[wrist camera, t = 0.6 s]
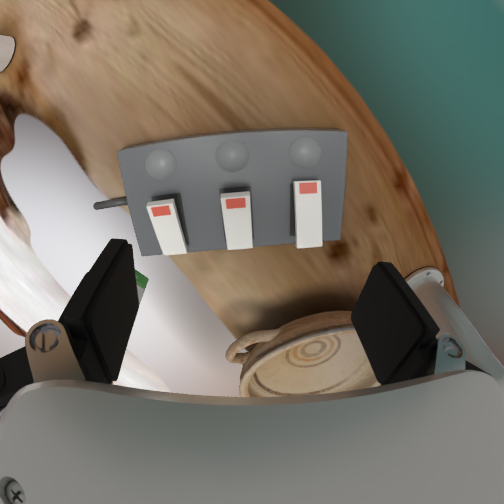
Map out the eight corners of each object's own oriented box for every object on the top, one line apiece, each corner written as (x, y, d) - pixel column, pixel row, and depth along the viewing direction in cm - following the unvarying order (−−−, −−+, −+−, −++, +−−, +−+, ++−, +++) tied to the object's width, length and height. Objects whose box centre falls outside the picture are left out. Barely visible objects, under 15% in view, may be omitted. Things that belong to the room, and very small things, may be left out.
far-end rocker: (320, 244, 32) (322, 246, 31) (295, 246, 32) (297, 248, 31) (318, 180, 30) (321, 180, 29) (293, 181, 29) (294, 181, 29)
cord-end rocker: (187, 248, 33) (186, 254, 32) (164, 250, 33) (163, 256, 32) (173, 198, 28) (172, 203, 27) (147, 202, 27) (146, 207, 27)
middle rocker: (252, 243, 33) (252, 248, 33) (227, 245, 33) (227, 250, 33) (249, 191, 28) (250, 196, 27) (220, 193, 28) (220, 198, 27)
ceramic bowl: (412, 323, 50) (432, 356, 42) (324, 392, 61) (333, 424, 53) (285, 241, 37) (300, 286, 29) (191, 351, 49) (186, 396, 40)
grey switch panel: (332, 229, 37) (340, 240, 34) (108, 248, 36) (100, 260, 33) (337, 128, 30) (347, 131, 27) (84, 157, 29) (72, 162, 26)
